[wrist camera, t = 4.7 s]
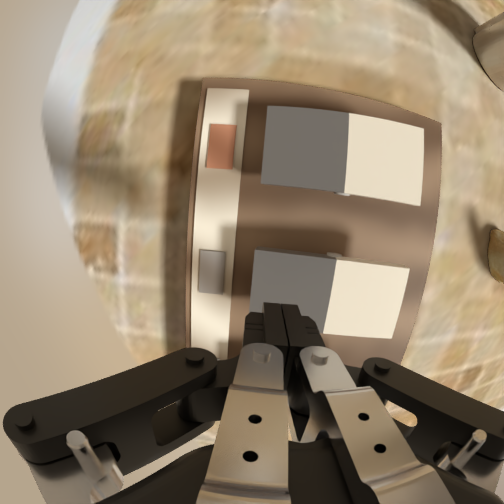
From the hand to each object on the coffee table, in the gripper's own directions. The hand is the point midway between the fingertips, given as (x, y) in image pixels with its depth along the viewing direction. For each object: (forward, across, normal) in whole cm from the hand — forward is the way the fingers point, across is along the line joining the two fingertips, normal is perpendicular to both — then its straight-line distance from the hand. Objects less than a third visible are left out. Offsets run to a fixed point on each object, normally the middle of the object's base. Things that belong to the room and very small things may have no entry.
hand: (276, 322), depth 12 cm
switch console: (+11, -4, +1) cm, 12 cm away
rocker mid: (+6, -4, 0) cm, 7 cm away
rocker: (+6, -4, -8) cm, 11 cm away
